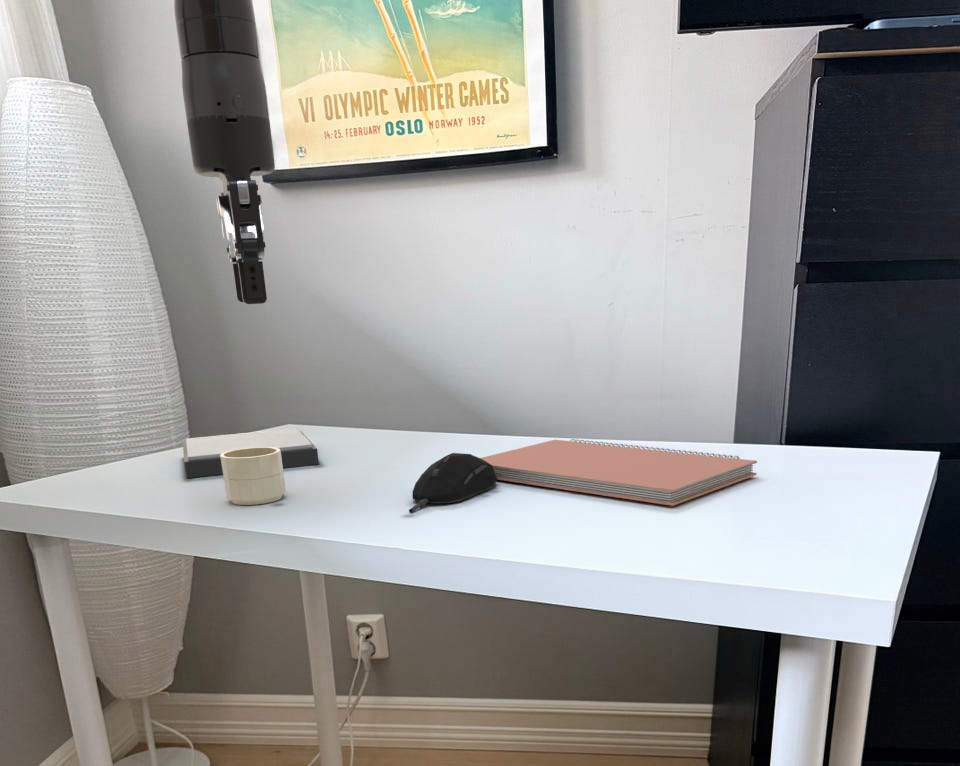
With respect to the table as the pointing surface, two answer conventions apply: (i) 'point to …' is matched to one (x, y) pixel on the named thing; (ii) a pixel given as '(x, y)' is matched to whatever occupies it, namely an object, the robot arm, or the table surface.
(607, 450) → the notebook
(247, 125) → the robot arm
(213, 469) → the scale
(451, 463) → the gaming mouse
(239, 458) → the container
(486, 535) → the table surface
